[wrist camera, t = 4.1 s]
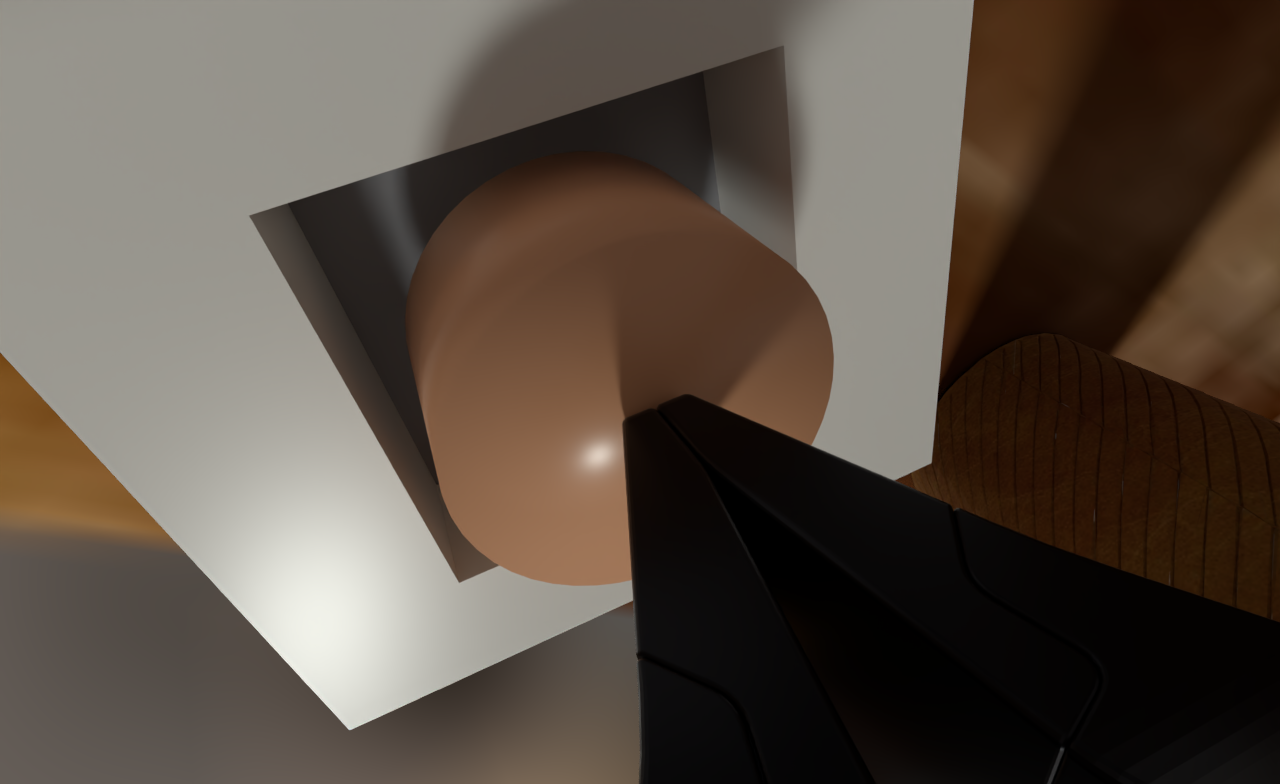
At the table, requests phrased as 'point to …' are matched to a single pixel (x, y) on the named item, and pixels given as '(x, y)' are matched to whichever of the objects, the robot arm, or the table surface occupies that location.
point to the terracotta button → (593, 349)
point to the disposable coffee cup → (1115, 468)
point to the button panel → (391, 247)
